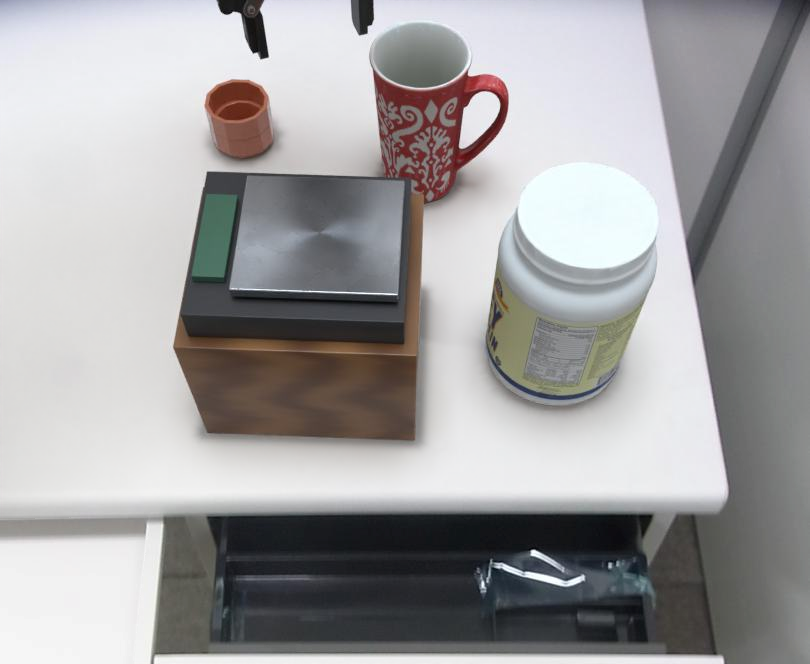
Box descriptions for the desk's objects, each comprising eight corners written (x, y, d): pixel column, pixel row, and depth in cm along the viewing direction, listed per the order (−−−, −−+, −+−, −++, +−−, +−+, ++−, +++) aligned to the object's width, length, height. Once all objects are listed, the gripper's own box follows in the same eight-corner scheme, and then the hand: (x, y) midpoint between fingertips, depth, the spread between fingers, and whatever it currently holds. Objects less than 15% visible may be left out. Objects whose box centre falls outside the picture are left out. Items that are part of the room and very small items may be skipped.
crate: (207, 433, 72) (172, 347, 61) (230, 287, 79) (202, 186, 68) (414, 440, 72) (417, 356, 61) (421, 294, 79) (424, 193, 68)
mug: (364, 203, 83) (358, 79, 71) (384, 139, 87) (382, 11, 75) (488, 224, 82) (504, 103, 70) (504, 159, 86) (522, 32, 74)
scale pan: (230, 296, 60) (228, 289, 59) (248, 183, 64) (246, 175, 64) (398, 302, 60) (398, 295, 59) (404, 188, 64) (404, 180, 63)
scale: (188, 336, 62) (177, 309, 59) (213, 195, 68) (205, 164, 65) (404, 344, 62) (404, 316, 59) (411, 202, 67) (411, 171, 65)
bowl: (210, 159, 86) (201, 121, 82) (218, 117, 88) (209, 78, 84) (270, 161, 86) (264, 124, 82) (277, 119, 88) (271, 80, 84)
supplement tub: (493, 292, 79) (515, 141, 63) (623, 312, 78) (678, 163, 62) (474, 400, 74) (493, 264, 58) (612, 422, 73) (668, 290, 58)
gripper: (370, -244, 57) (377, -5, 72) (166, -206, 55) (216, 32, 70) (408, -187, 54) (407, 50, 69) (194, -144, 52) (240, 90, 67)
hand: (311, 41), depth 69 cm, fingers open, 8 cm apart
